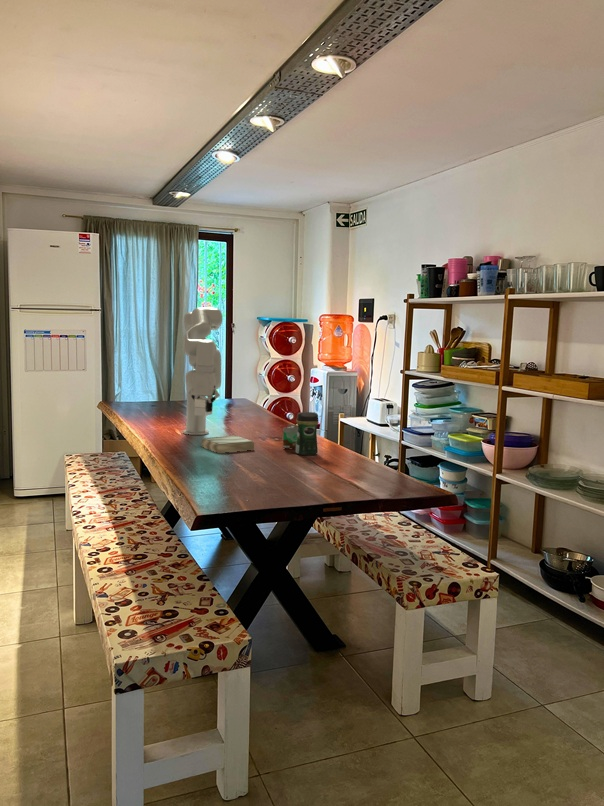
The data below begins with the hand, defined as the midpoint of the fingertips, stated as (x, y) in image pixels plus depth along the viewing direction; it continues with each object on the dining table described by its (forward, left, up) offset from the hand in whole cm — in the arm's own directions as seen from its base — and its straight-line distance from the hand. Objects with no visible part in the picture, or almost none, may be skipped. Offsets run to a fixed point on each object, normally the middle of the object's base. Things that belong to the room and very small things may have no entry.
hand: (203, 410), depth 286 cm
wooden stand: (+3, +11, -17) cm, 21 cm away
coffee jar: (+27, +37, -18) cm, 49 cm away
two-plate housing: (0, 0, -2) cm, 2 cm away
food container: (+13, +39, -18) cm, 45 cm away
